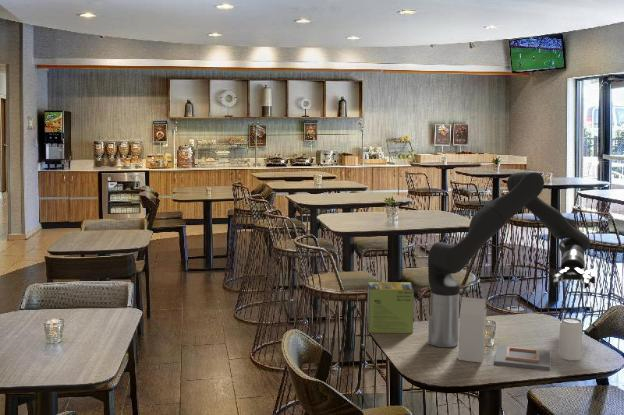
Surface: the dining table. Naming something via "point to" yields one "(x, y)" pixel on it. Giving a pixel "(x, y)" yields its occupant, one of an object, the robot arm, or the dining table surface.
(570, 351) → the can
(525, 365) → the seat plate
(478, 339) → the milk carton
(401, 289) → the protein box
